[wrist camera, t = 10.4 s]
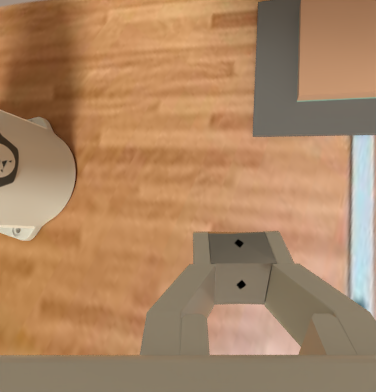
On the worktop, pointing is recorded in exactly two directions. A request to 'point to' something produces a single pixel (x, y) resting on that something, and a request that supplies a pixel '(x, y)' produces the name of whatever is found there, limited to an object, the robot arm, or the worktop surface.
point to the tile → (336, 50)
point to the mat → (287, 85)
